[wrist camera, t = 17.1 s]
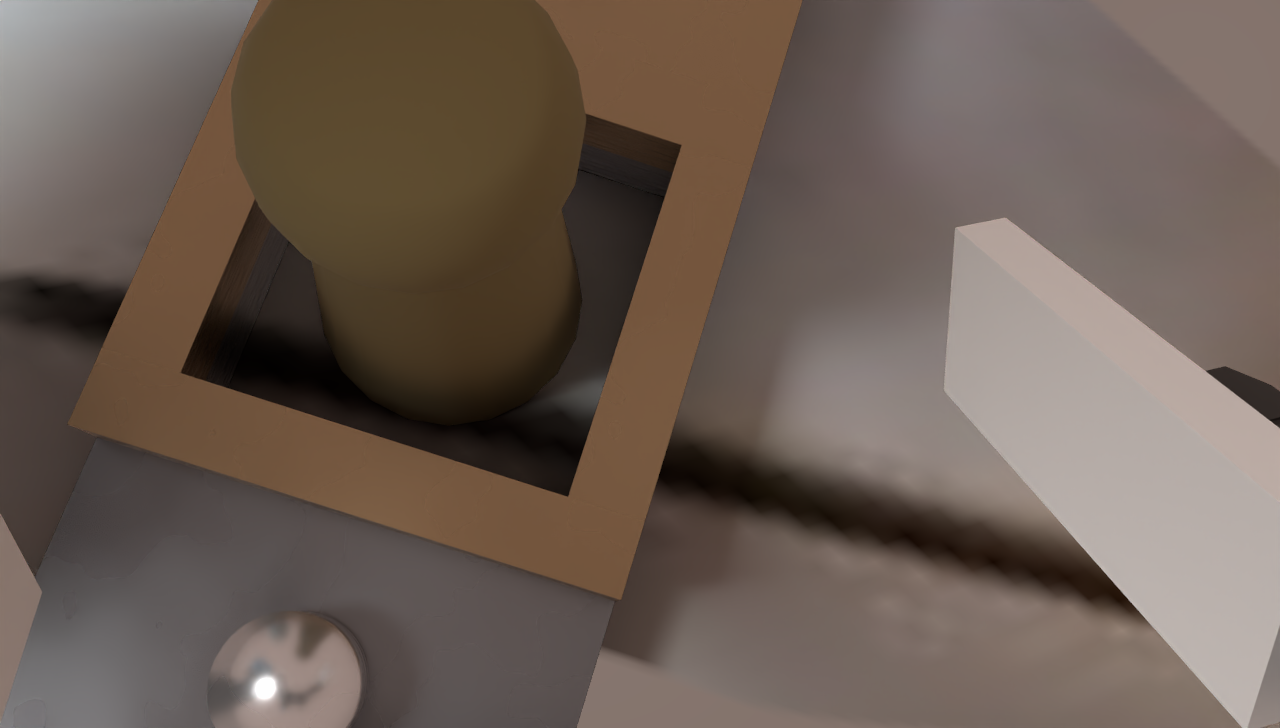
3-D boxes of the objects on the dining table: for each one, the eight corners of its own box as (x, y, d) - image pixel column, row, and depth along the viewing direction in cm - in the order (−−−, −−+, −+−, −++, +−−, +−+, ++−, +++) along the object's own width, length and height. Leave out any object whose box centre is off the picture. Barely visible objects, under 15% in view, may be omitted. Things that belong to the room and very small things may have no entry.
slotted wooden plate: (523, 884, 23) (522, 941, 19) (2, 724, 22) (-113, 746, 18) (806, -41, 28) (852, -152, 24) (395, -179, 28) (374, -314, 24)
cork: (614, 223, 26) (676, -49, 16) (534, 459, 25) (541, 337, 14) (375, 144, 26) (271, -186, 15) (279, 377, 25) (92, 190, 14)
